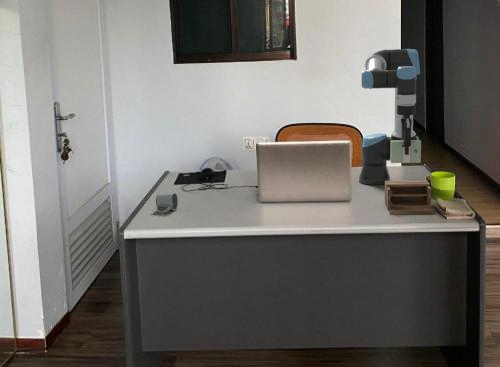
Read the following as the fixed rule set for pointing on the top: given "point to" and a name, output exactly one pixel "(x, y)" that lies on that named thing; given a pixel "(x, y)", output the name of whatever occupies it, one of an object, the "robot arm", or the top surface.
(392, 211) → the cabinet
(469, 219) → the top surface
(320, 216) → the top surface
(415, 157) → the pale green box
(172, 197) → the ceramic mug
